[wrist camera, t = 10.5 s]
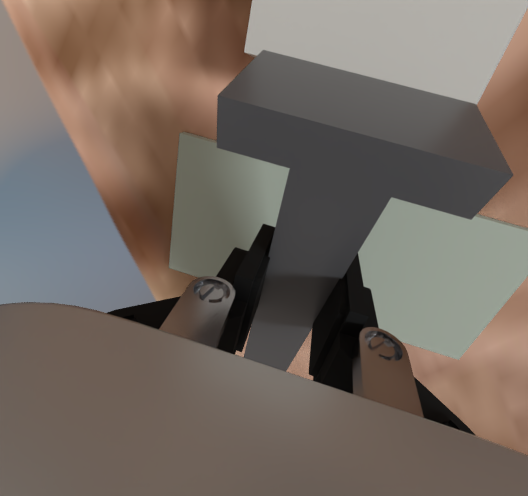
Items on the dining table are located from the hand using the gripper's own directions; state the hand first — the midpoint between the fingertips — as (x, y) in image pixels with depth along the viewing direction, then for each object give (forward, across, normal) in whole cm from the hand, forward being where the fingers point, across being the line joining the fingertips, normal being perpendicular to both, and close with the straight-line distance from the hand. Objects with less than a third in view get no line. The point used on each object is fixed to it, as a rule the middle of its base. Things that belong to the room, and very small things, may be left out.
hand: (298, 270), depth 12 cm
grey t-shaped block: (+2, 0, +1) cm, 2 cm away
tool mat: (+6, -2, +2) cm, 7 cm away
